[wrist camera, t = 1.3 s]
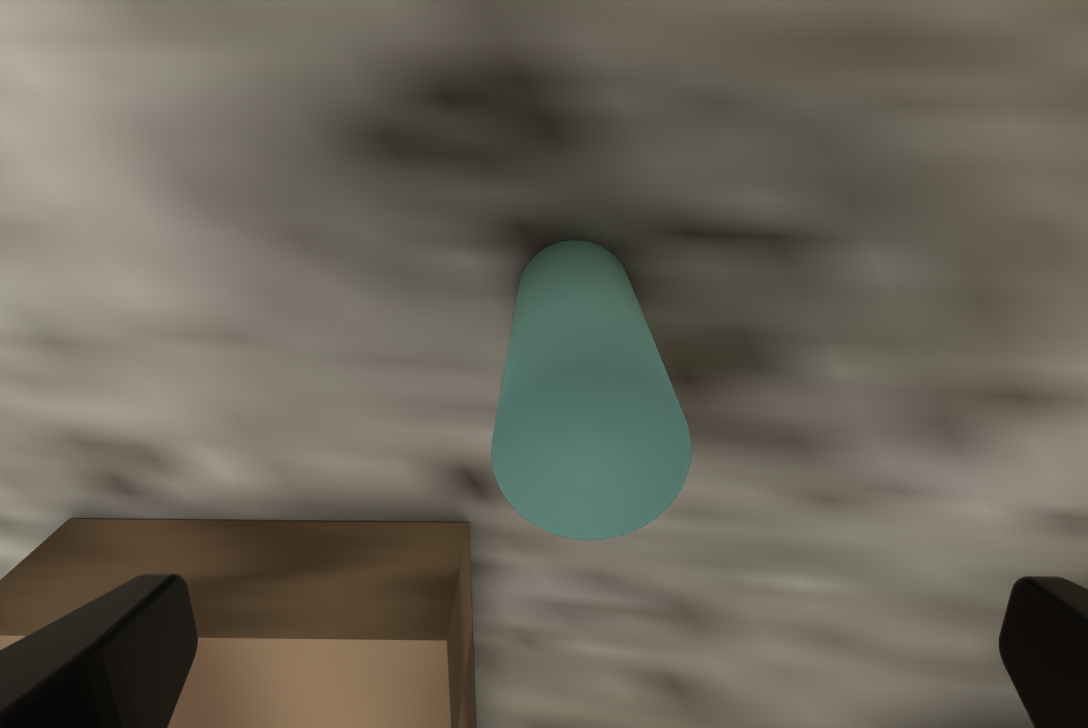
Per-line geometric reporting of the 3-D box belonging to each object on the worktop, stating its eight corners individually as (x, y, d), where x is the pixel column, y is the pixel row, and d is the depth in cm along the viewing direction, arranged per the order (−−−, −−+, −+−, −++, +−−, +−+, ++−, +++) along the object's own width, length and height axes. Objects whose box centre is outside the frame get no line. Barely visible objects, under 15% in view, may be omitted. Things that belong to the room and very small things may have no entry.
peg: (633, 240, 19) (699, 361, 10) (628, 350, 20) (683, 540, 12) (517, 239, 19) (488, 360, 11) (517, 349, 20) (493, 539, 12)
